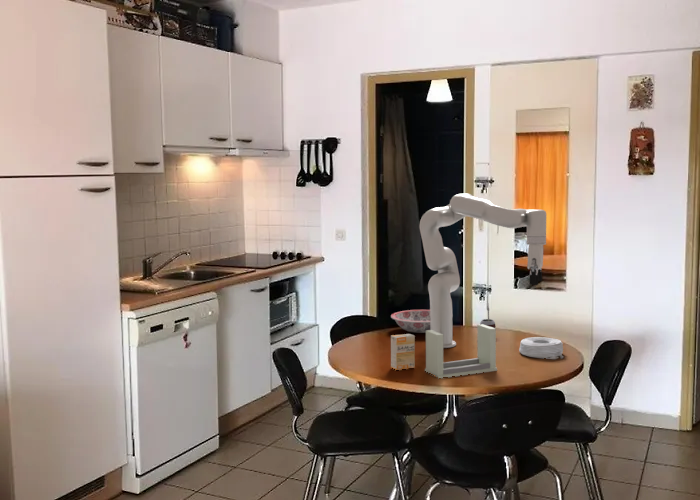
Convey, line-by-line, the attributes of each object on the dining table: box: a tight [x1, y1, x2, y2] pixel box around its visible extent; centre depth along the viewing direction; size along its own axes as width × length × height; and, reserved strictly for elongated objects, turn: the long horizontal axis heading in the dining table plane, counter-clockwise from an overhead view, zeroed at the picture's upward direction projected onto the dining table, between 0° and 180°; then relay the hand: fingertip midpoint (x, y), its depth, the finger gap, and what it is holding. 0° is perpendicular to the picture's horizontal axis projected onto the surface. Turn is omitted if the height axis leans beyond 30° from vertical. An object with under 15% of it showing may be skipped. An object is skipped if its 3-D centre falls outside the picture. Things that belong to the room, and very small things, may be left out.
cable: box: [518, 336, 564, 360], centre depth 298 cm, size 18×18×6 cm
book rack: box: [424, 323, 498, 379], centre depth 274 cm, size 11×25×16 cm, turn 112°
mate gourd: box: [479, 302, 497, 328], centre depth 330 cm, size 8×8×15 cm
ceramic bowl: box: [390, 309, 454, 334], centre depth 344 cm, size 29×29×8 cm
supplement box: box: [390, 333, 416, 371], centre depth 279 cm, size 8×5×13 cm, turn 114°
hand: (535, 282), depth 292 cm, fingers open, 9 cm apart
